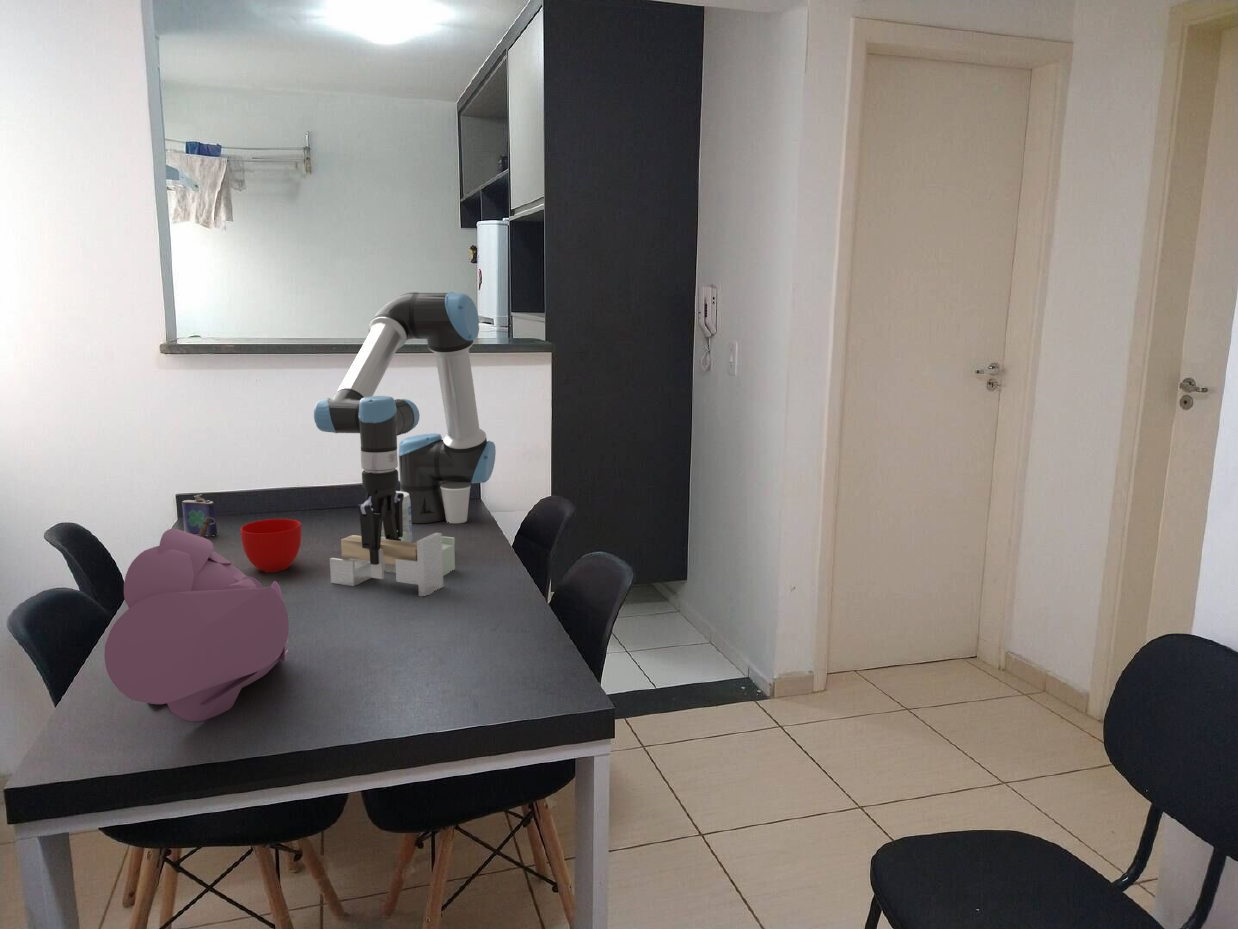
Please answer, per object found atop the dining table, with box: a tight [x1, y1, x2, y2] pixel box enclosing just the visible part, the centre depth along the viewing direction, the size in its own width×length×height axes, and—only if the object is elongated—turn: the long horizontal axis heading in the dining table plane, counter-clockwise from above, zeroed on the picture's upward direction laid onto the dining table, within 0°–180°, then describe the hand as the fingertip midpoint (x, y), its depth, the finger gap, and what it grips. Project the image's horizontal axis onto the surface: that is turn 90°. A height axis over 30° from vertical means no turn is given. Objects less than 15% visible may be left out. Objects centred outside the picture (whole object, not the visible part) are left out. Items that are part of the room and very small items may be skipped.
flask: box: [181, 493, 218, 537], centre depth 233 cm, size 9×3×11 cm, turn 76°
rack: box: [381, 531, 456, 577], centre depth 207 cm, size 7×17×8 cm, turn 69°
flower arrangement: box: [104, 528, 290, 722], centre depth 143 cm, size 35×24×28 cm
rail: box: [340, 534, 418, 564], centre depth 195 cm, size 4×19×4 cm, turn 69°
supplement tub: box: [374, 490, 413, 542], centre depth 217 cm, size 10×10×15 cm
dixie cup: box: [440, 482, 472, 524], centre depth 249 cm, size 8×8×10 cm
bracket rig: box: [329, 532, 444, 597], centre depth 195 cm, size 7×24×12 cm, turn 69°
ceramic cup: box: [240, 518, 302, 573], centre depth 208 cm, size 13×17×10 cm
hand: (384, 574), depth 196 cm, fingers closed on rail, 4 cm apart
